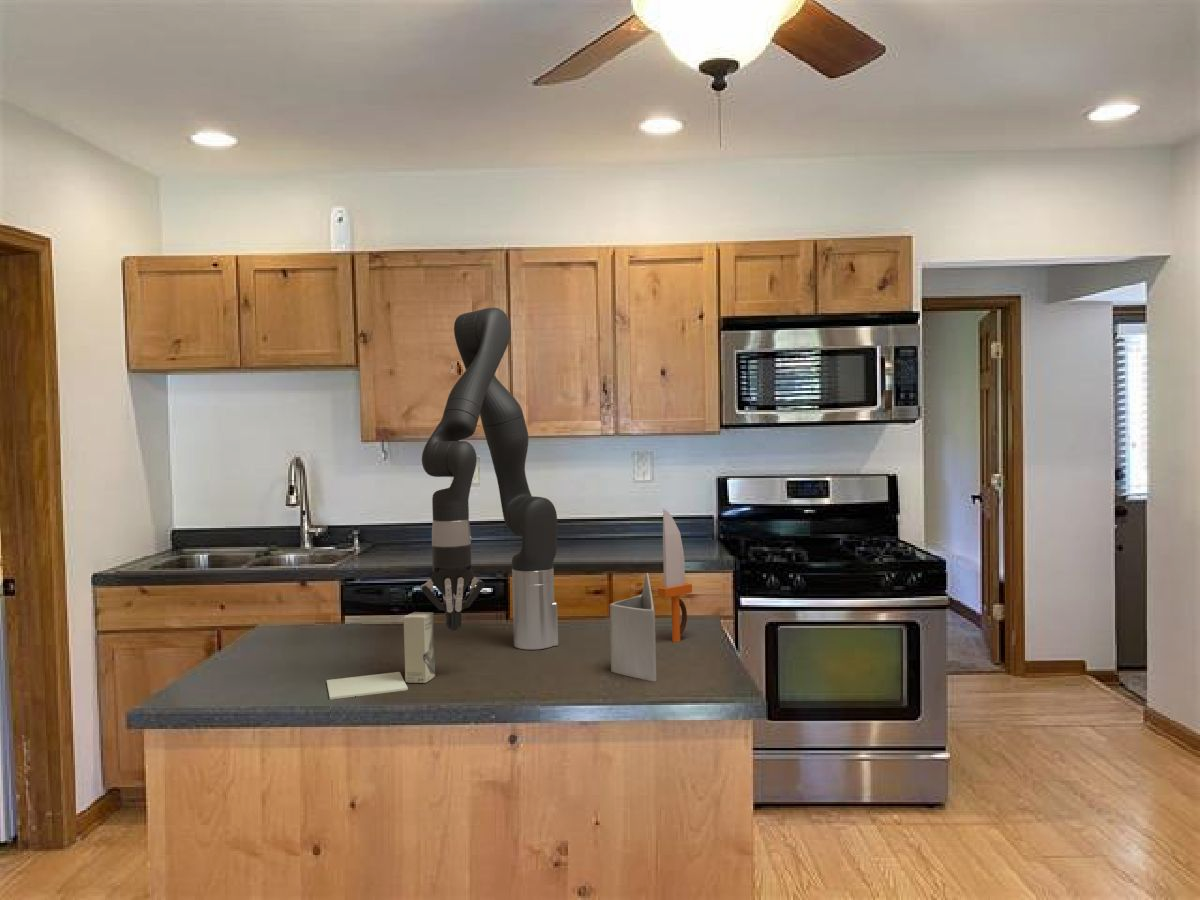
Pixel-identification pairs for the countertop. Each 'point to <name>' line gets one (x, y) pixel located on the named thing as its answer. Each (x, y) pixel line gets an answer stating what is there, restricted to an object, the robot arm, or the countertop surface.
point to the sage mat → (366, 685)
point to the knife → (674, 574)
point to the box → (419, 647)
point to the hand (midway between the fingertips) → (453, 630)
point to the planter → (634, 636)
